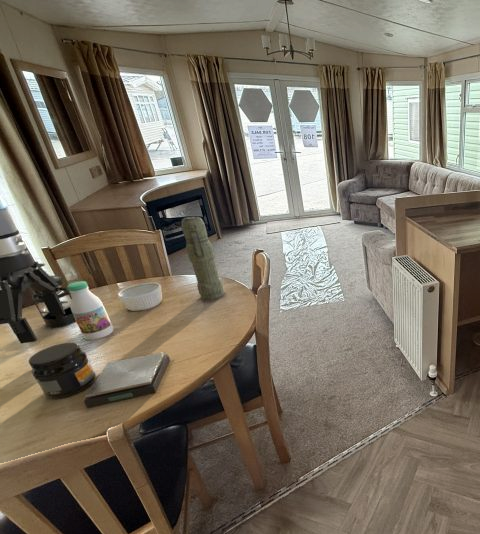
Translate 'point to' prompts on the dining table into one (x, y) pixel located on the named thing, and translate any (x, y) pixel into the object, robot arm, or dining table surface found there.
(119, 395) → the scale
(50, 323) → the french press
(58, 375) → the supplement container
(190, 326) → the dining table surface
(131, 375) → the grey flat slab
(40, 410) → the dining table surface
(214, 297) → the green tiki statue
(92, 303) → the milk bottle
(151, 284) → the ramekin
